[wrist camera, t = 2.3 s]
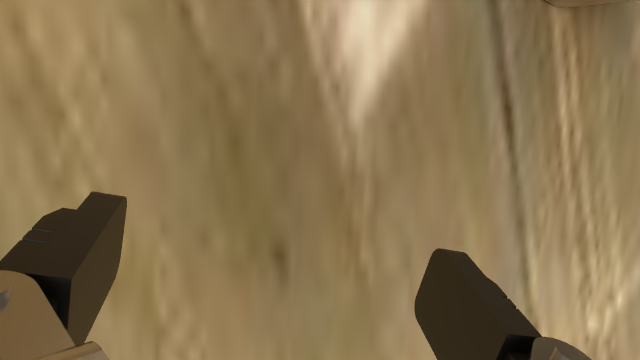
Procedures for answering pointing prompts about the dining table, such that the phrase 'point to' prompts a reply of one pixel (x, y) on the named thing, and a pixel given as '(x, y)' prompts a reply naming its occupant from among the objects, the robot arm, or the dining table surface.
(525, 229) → the dining table surface
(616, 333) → the dining table surface
